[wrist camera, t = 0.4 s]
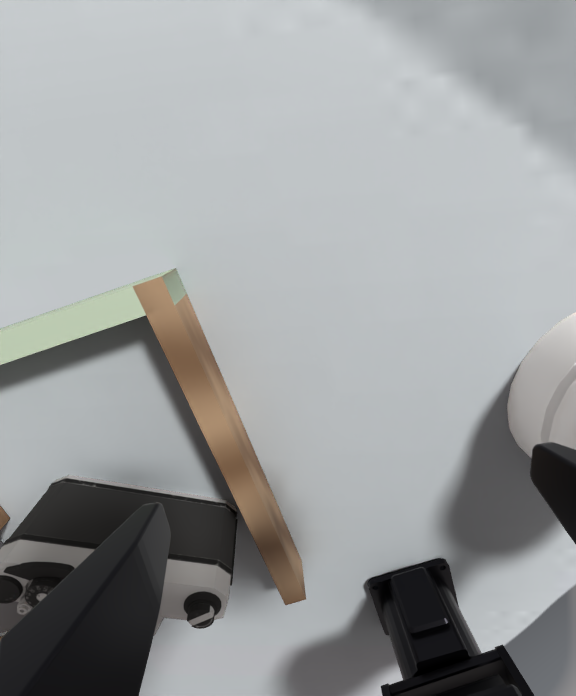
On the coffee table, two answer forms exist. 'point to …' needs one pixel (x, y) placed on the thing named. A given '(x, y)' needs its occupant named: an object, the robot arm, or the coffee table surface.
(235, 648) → the coffee table surface
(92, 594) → the robot arm
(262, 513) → the trap box
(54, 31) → the coffee table surface
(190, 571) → the camera
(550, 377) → the honey pot
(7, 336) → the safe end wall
